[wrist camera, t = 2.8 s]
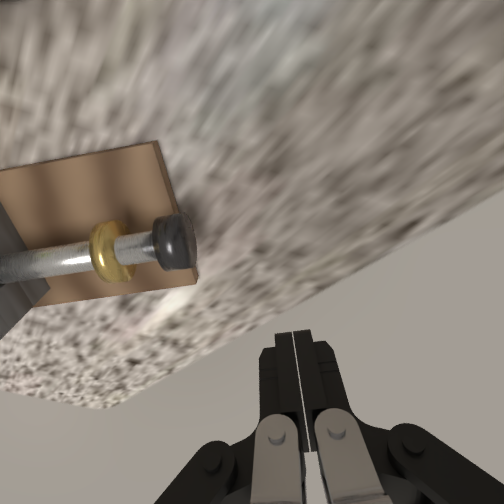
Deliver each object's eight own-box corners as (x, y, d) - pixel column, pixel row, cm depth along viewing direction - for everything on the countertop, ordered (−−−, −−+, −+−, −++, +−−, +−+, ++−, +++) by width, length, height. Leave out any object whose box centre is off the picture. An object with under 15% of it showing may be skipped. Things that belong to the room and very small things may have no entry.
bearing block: (157, 140, 27) (109, 169, 18) (198, 276, 34) (178, 345, 25) (-73, 183, 29) (-215, 228, 20) (9, 303, 36) (-72, 376, 27)
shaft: (185, 199, 26) (171, 224, 21) (201, 252, 28) (191, 284, 24) (-35, 236, 28) (-89, 266, 23) (-3, 283, 30) (-47, 318, 26)
